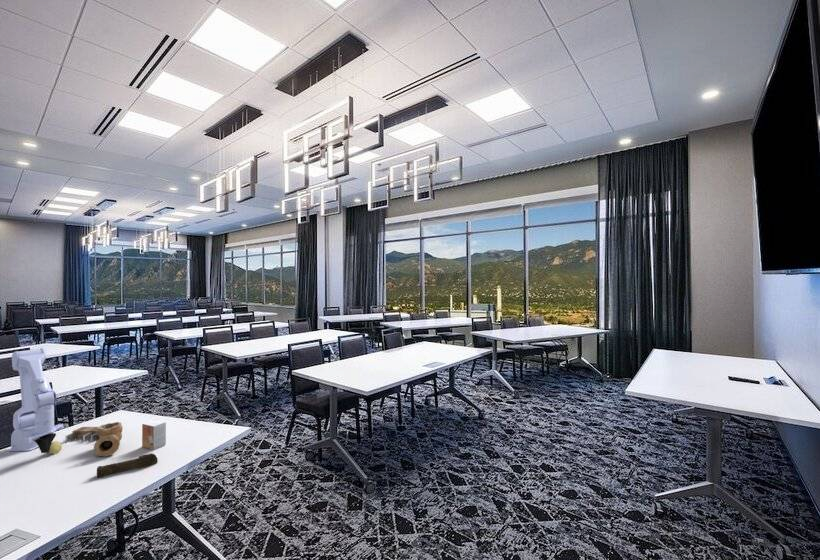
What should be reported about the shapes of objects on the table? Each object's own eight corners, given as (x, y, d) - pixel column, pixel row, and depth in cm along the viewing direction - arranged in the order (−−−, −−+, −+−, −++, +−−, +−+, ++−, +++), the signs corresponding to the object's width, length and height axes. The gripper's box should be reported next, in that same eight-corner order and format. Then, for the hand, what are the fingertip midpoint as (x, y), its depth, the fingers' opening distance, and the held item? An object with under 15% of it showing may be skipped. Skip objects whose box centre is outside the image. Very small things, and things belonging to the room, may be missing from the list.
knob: (64, 450, 159) (64, 438, 159) (52, 455, 154) (52, 444, 154) (53, 450, 159) (53, 439, 159) (41, 456, 154) (41, 444, 154)
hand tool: (95, 479, 135) (95, 467, 135) (98, 474, 139) (98, 462, 139) (156, 467, 144) (156, 455, 144) (157, 462, 148) (157, 451, 148)
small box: (141, 447, 161) (141, 423, 161) (154, 441, 166) (154, 419, 166) (153, 450, 158) (153, 426, 158) (166, 444, 163) (166, 421, 163)
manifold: (64, 442, 167) (64, 434, 167) (82, 434, 176) (81, 426, 176) (103, 441, 167) (103, 434, 167) (118, 433, 176) (118, 426, 176)
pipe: (92, 460, 150) (92, 436, 150) (98, 445, 163) (98, 423, 163) (120, 454, 155) (120, 431, 155) (123, 440, 168) (123, 419, 168)
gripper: (36, 427, 146) (36, 460, 146) (70, 414, 160) (70, 444, 160) (19, 427, 146) (19, 461, 146) (54, 414, 160) (54, 444, 160)
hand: (45, 452), depth 153 cm, fingers closed
